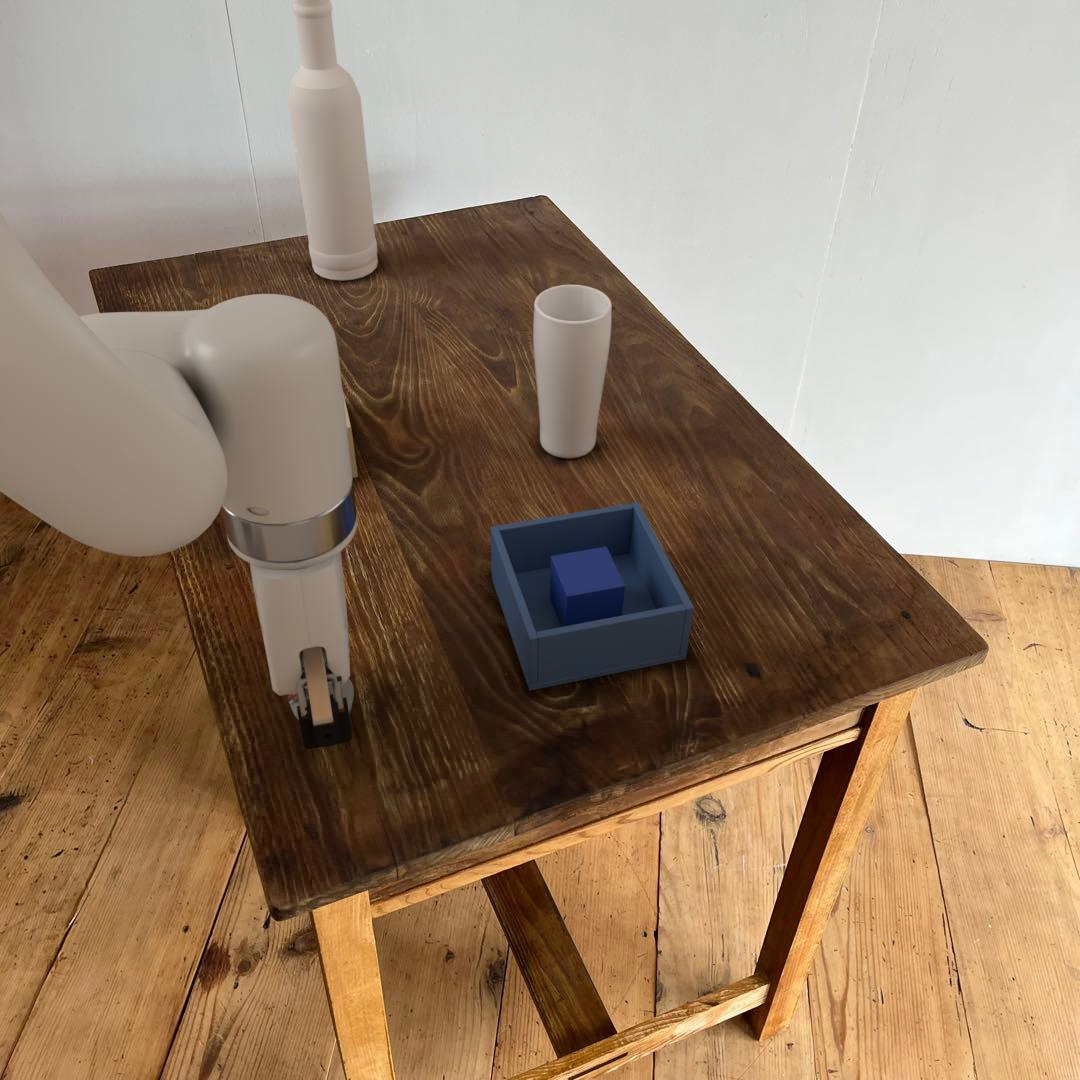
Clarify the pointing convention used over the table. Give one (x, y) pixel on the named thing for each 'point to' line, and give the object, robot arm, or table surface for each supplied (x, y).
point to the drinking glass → (570, 366)
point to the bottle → (330, 152)
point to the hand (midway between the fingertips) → (323, 706)
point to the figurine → (346, 692)
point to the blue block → (585, 586)
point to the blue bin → (603, 645)
